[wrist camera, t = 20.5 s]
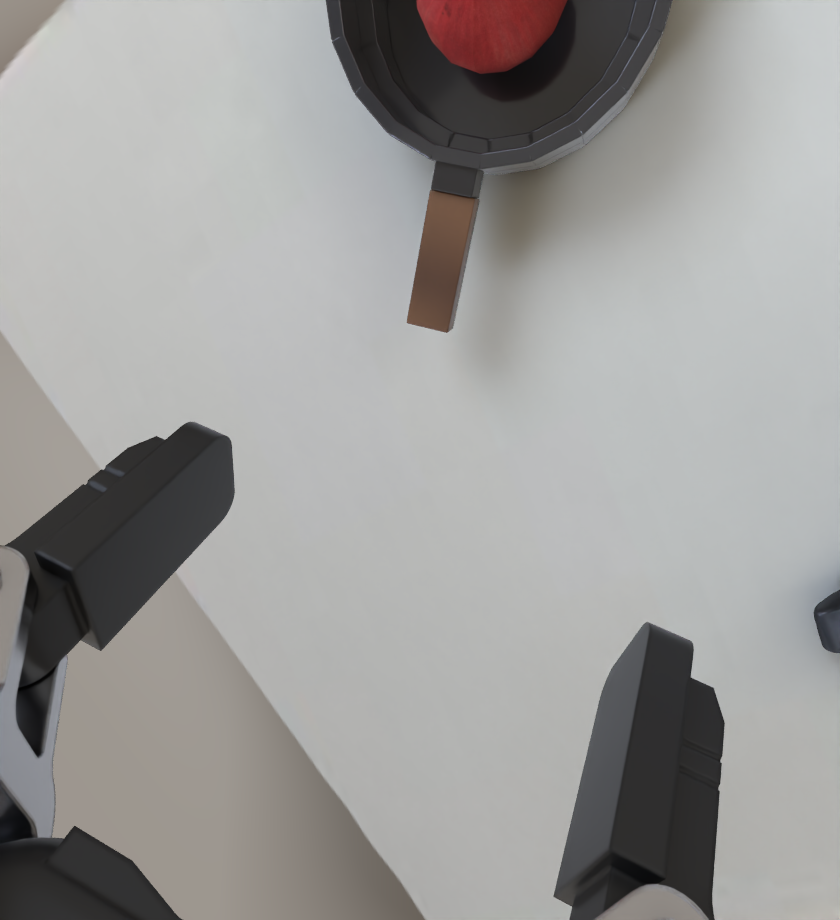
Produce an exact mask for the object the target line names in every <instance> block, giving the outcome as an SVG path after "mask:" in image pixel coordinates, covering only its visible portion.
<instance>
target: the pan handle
mask: <svg viewBox="0 0 840 920" xmlns="http://www.w3.org/2000/svg"><path fill="white" fill-rule="evenodd" d="M483 175H484V172H483V171H480V170H477V169H473V168H468V167H462V166H457V165H452V164H447V163H442V162H437V161H436V164H435V170H434V175H433V181H432V186H431V189H432V190H430V194H429V200H428V205H427V211H426V217H425V222H424V228H423V233H422V239H421V245H420V250H419V256H418V262H417V267H416V273H415V278H414V284H413V290H412V295H411V301H410V306H409V312H408V318H407V323H409V324H413V325H417V326H421V327H425V328H430V329H434V330H438V331H442V332H446V333H447V332H449V331H450V330H451V329H453V325H454V321H455V316H456V311H457V306H458V301H459V297H460V292H461V287H462V282H463V277H464V272H465V268H466V263H467V258H468V253H469V248H470V244H471V239H472V234H473V229H474V224H475V219H476V215H477V210H478V205H479V199H477V198H479V195H480V190H481V185H482V180H483Z"/></svg>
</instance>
